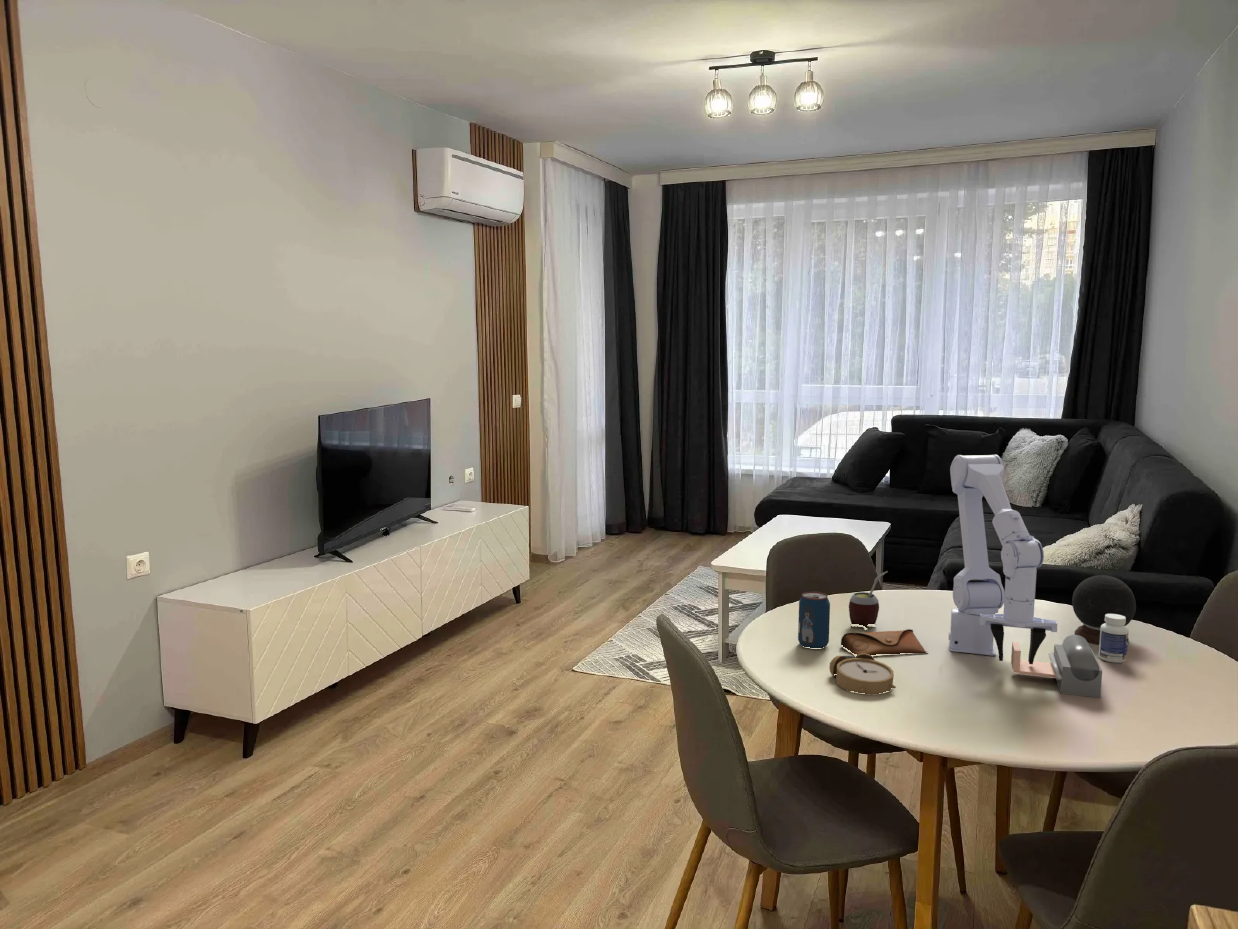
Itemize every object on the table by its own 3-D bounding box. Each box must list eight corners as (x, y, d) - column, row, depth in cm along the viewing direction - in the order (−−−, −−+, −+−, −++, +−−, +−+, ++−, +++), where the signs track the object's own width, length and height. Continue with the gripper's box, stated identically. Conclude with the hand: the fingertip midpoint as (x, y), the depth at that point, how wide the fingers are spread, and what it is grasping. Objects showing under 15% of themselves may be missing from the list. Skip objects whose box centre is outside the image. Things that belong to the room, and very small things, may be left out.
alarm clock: (854, 685, 175) (820, 647, 188) (851, 707, 176) (817, 667, 190) (905, 680, 177) (868, 643, 191) (902, 701, 179) (865, 663, 193)
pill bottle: (1130, 664, 193) (1133, 620, 192) (1102, 662, 194) (1106, 619, 193) (1121, 655, 198) (1124, 613, 197) (1095, 654, 200) (1098, 612, 198)
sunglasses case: (857, 659, 196) (851, 629, 199) (844, 665, 203) (838, 635, 205) (931, 653, 200) (924, 623, 203) (916, 659, 206) (910, 630, 209)
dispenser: (1055, 692, 178) (1057, 653, 177) (1047, 668, 191) (1049, 632, 190) (1100, 697, 175) (1103, 658, 174) (1089, 673, 188) (1092, 636, 187)
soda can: (826, 641, 208) (828, 591, 207) (830, 651, 202) (832, 599, 200) (796, 640, 209) (797, 590, 207) (799, 650, 202) (800, 598, 201)
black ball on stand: (1146, 645, 206) (1152, 581, 204) (1098, 649, 202) (1103, 585, 200) (1103, 627, 218) (1107, 567, 216) (1057, 631, 215) (1061, 570, 213)
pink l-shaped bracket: (1013, 673, 183) (1014, 651, 183) (1010, 661, 190) (1012, 640, 189) (1089, 681, 179) (1091, 659, 178) (1084, 669, 185) (1086, 648, 185)
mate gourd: (845, 622, 222) (847, 563, 220) (877, 622, 222) (879, 563, 220) (852, 632, 215) (855, 571, 213) (885, 632, 215) (888, 571, 213)
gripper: (982, 599, 183) (978, 663, 185) (1060, 606, 178) (1056, 672, 180) (981, 590, 190) (977, 652, 191) (1056, 597, 185) (1052, 660, 187)
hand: (1015, 661), depth 186 cm, fingers open, 5 cm apart
